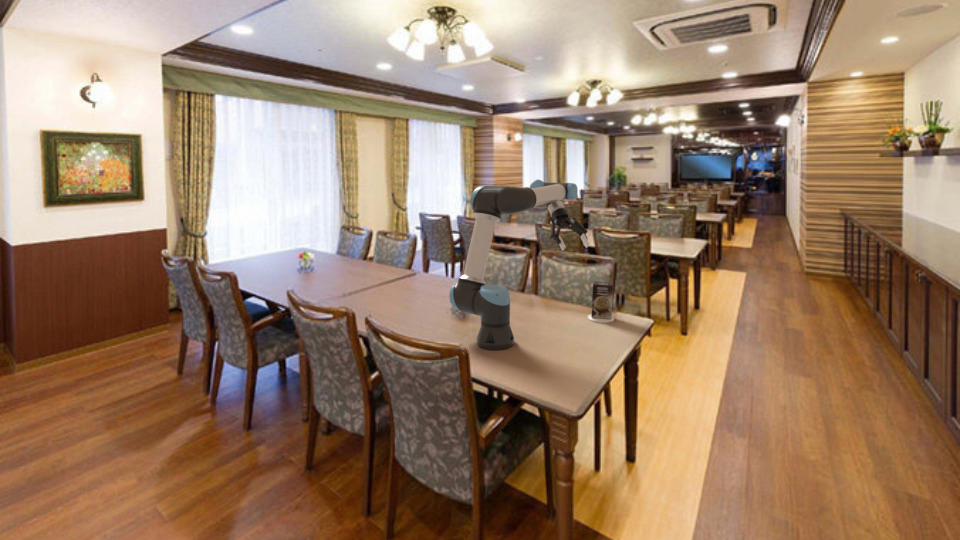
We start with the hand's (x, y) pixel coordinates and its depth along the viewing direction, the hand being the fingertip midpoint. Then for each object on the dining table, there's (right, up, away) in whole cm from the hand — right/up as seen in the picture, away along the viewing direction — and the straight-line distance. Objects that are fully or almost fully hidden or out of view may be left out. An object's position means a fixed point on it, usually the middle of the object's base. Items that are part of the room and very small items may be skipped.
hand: (576, 247), depth 228 cm
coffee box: (+11, -32, -3) cm, 34 cm away
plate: (+11, -33, -3) cm, 35 cm away
